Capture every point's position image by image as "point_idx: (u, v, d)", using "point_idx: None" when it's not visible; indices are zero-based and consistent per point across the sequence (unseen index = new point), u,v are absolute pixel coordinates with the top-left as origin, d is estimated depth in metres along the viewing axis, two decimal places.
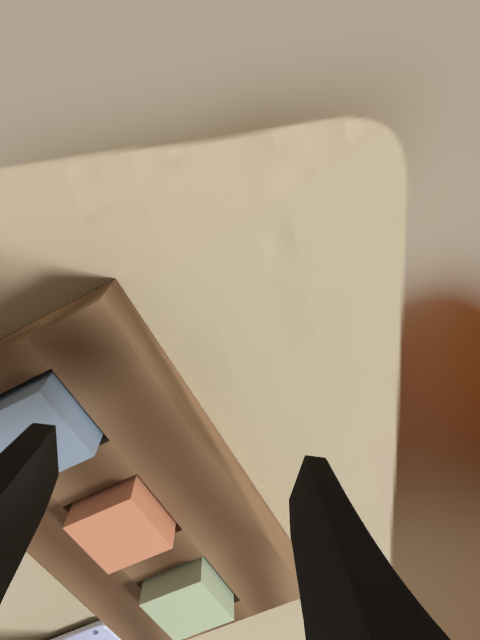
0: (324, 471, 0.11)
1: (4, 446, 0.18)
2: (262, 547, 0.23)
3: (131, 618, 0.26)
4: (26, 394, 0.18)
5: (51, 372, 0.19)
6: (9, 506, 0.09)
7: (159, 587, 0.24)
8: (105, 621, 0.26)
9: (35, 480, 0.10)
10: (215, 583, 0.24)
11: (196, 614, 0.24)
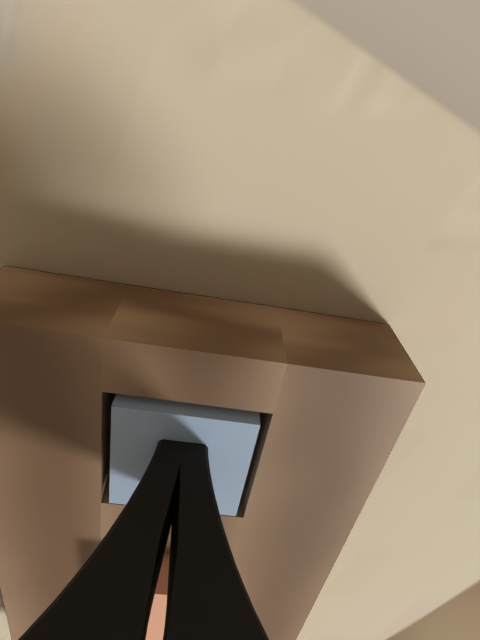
0: (196, 456, 0.11)
1: (141, 452, 0.12)
2: None
3: None
4: (228, 410, 0.11)
5: None
6: (166, 522, 0.10)
7: None
8: None
9: (174, 495, 0.11)
10: None
11: None
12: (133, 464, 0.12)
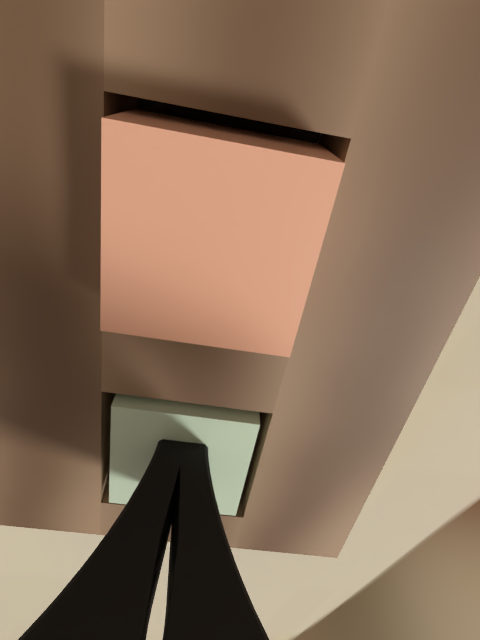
0: (196, 456, 0.11)
1: None
2: (373, 454, 0.12)
3: (30, 453, 0.12)
4: None
5: None
6: (166, 522, 0.10)
7: None
8: None
9: (174, 495, 0.11)
10: None
11: None
12: None
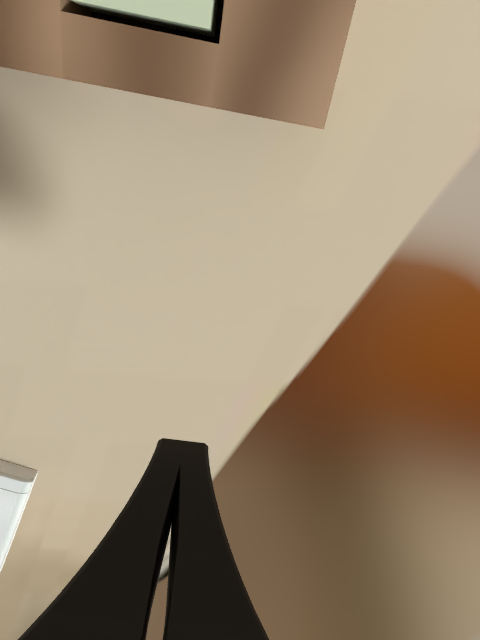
0: (196, 456, 0.11)
1: None
2: None
3: None
4: None
5: None
6: (166, 522, 0.10)
7: None
8: None
9: (174, 495, 0.11)
10: None
11: None
12: None
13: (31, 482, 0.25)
